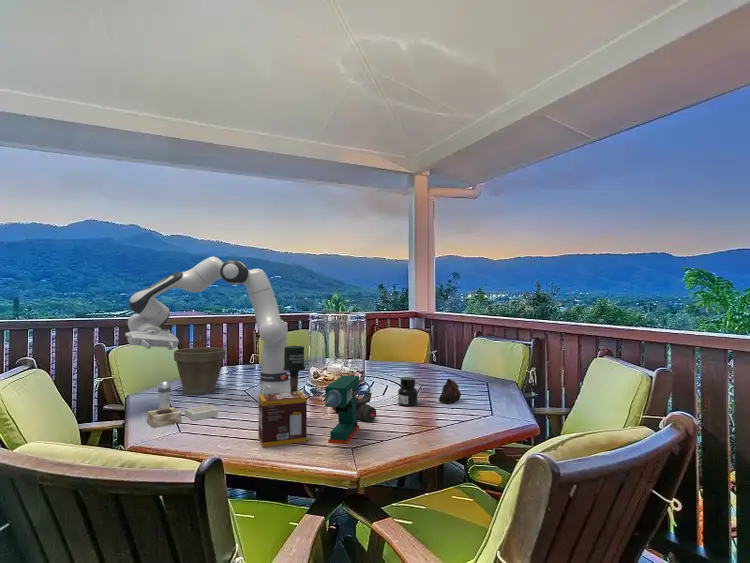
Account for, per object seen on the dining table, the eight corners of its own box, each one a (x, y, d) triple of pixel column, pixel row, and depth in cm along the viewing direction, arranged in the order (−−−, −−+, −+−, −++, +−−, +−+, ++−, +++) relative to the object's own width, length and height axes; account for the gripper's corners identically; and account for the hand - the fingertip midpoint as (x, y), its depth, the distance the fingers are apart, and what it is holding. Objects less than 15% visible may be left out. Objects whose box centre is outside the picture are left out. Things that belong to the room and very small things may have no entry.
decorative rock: (453, 398, 215) (453, 376, 215) (463, 401, 210) (463, 378, 210) (436, 402, 207) (436, 379, 208) (446, 405, 203) (446, 381, 203)
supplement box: (257, 438, 157) (258, 394, 157) (300, 433, 163) (300, 390, 163) (261, 447, 147) (262, 401, 148) (306, 442, 153) (307, 397, 154)
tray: (208, 411, 192) (208, 405, 192) (217, 415, 184) (217, 409, 184) (184, 415, 185) (184, 409, 185) (193, 420, 177) (193, 414, 178)
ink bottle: (395, 402, 207) (395, 377, 207) (412, 401, 210) (412, 375, 210) (402, 407, 198) (402, 381, 198) (420, 406, 201) (420, 379, 201)
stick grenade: (286, 426, 170) (287, 348, 171) (280, 420, 178) (280, 346, 178) (307, 423, 174) (308, 347, 175) (300, 417, 182) (301, 345, 182)
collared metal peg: (172, 420, 177) (173, 380, 177) (164, 424, 173) (164, 383, 173) (163, 419, 178) (164, 380, 179) (155, 423, 174) (155, 382, 174)
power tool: (336, 459, 138) (337, 395, 138) (315, 457, 139) (315, 394, 139) (360, 428, 169) (360, 375, 169) (342, 426, 170) (343, 374, 171)
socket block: (173, 416, 183) (173, 407, 183) (181, 422, 175) (181, 412, 175) (146, 421, 176) (147, 411, 176) (154, 427, 168) (154, 417, 169)
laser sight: (345, 409, 196) (345, 386, 196) (381, 420, 180) (381, 395, 180) (328, 413, 189) (328, 390, 189) (364, 425, 173) (364, 399, 173)
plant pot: (213, 384, 245) (214, 345, 246) (233, 392, 227) (233, 349, 228) (166, 391, 229) (167, 349, 229) (183, 400, 210) (184, 354, 211)
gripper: (125, 325, 185) (137, 338, 176) (172, 330, 201) (185, 342, 192) (120, 339, 186) (132, 353, 177) (168, 342, 201) (180, 355, 193)
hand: (160, 347), depth 185 cm, fingers open, 8 cm apart
